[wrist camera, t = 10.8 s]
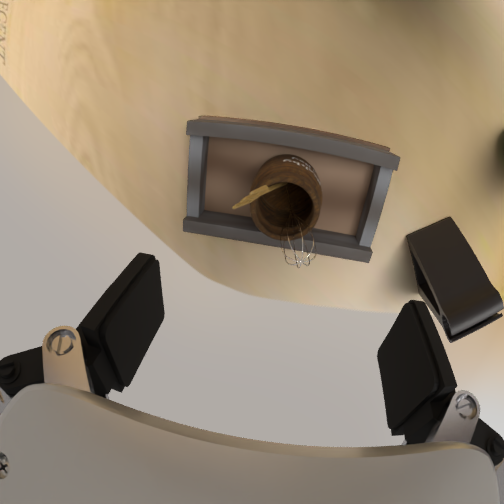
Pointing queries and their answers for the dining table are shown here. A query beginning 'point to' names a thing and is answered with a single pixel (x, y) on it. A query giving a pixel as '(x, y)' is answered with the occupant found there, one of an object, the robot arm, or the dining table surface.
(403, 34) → the dining table surface
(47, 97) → the dining table surface
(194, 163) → the gray framed rectangular tray
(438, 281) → the phone stand
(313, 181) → the utensil holder
